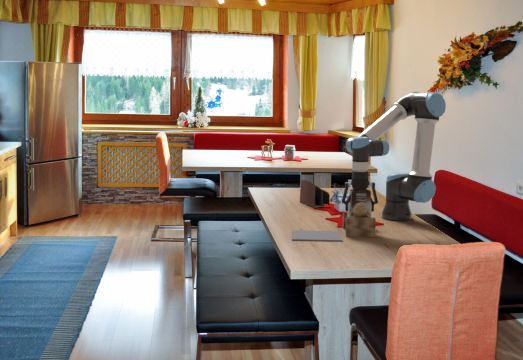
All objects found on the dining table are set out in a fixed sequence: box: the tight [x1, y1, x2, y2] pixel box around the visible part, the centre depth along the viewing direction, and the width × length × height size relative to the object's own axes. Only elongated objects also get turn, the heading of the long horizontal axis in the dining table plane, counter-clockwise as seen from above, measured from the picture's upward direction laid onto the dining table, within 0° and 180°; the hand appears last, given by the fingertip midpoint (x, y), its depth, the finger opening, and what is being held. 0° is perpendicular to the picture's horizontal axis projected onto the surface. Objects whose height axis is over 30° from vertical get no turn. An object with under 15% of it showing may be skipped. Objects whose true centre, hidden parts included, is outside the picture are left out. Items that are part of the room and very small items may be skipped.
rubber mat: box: [291, 229, 343, 242], centre depth 301 cm, size 22×18×1 cm
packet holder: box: [342, 210, 377, 238], centre depth 311 cm, size 13×20×8 cm, turn 178°
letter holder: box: [299, 179, 331, 209], centre depth 378 cm, size 10×20×14 cm, turn 20°
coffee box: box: [349, 188, 372, 218], centre depth 310 cm, size 9×6×16 cm
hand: (359, 218), depth 311 cm, fingers closed on coffee box, 9 cm apart
